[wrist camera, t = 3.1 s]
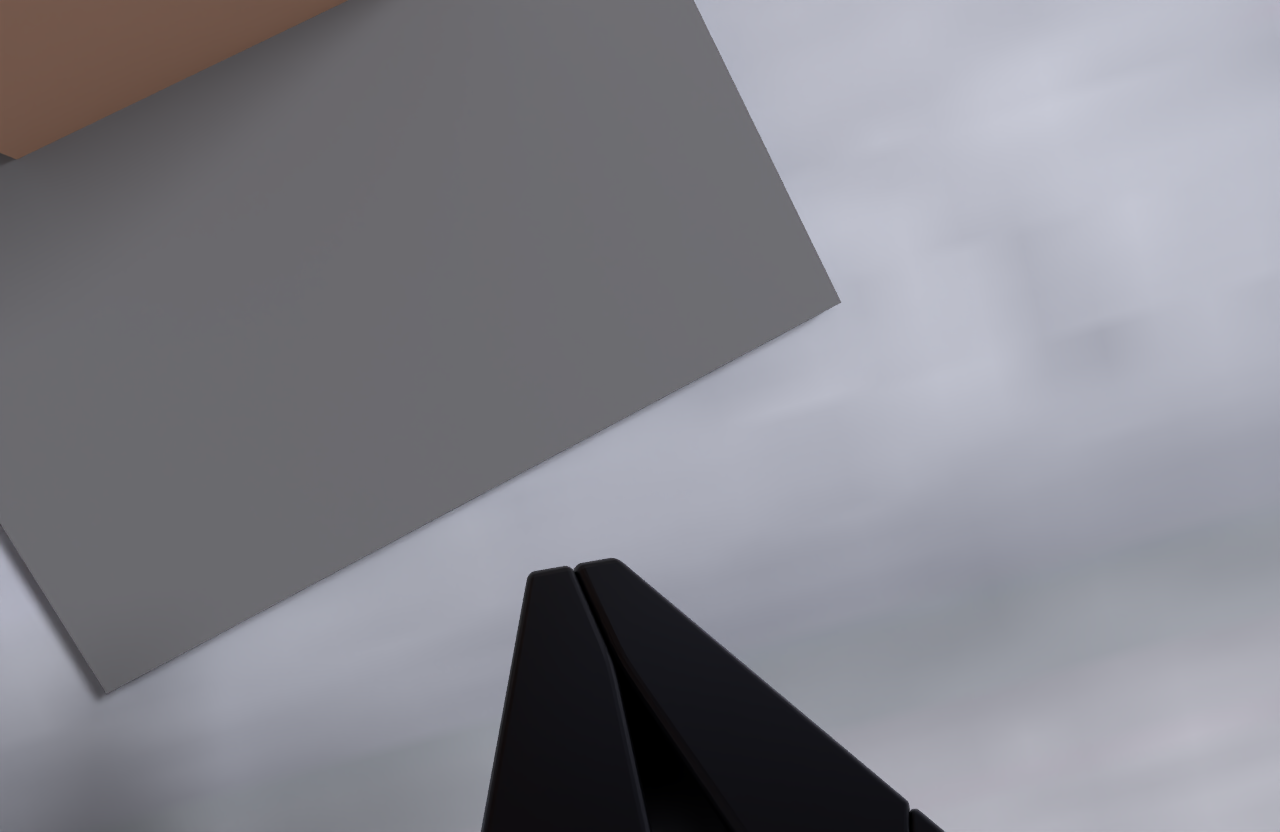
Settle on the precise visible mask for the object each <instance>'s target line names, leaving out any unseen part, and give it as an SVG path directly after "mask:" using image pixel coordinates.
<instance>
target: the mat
mask: <svg viewBox="0 0 1280 832" xmlns="http://www.w3.org/2000/svg"><path fill="white" fill-rule="evenodd" d="M839 303H841V301H840V299H839V297H838V295H837V293H836V291H835V289H834V287H833V285H832V283H831V281H830V279H829V277H828V275H827V272H826V270H825V268H824V266H823V264H822V262H821V260H820V258H819V256H818V254H817V252H816V250H815V248H814V246H813V244H812V242H811V240H810V238H809V236H808V234H807V232H806V229H805V227H804V225H803V223H802V221H801V219H800V217H799V215H798V213H797V211H796V209H795V207H794V205H793V203H792V201H791V199H790V197H789V195H788V193H787V191H786V188H785V186H784V184H783V182H782V180H781V178H780V176H779V174H778V172H777V170H776V168H775V166H774V164H773V162H772V160H771V158H770V156H769V154H768V152H767V150H766V148H765V145H764V143H763V141H762V139H761V137H760V135H759V133H758V131H757V129H756V127H755V125H754V123H753V121H752V119H751V117H750V115H749V113H748V111H747V109H746V107H745V105H744V102H743V100H742V98H741V96H740V94H739V92H738V90H737V88H736V86H735V84H734V82H733V80H732V78H731V76H730V74H729V72H728V70H727V68H726V66H725V64H724V62H723V59H722V57H721V55H720V53H719V51H718V49H717V47H716V45H715V43H714V41H713V39H712V37H711V35H710V33H709V31H708V29H707V27H706V25H705V23H704V21H703V19H702V16H701V14H700V12H699V10H698V8H697V6H696V4H695V2H694V0H348V1H346V2H343V3H341V4H339V5H337V6H335V7H333V8H331V9H329V10H327V11H325V12H323V13H321V14H319V15H316V16H314V17H312V18H310V19H308V20H306V21H304V22H302V23H300V24H298V25H296V26H294V27H291V28H289V29H287V30H285V31H283V32H281V33H279V34H277V35H275V36H273V37H271V38H269V39H267V40H264V41H262V42H260V43H258V44H256V45H254V46H252V47H250V48H248V49H246V50H244V51H242V52H239V53H237V54H235V55H233V56H231V57H229V58H227V59H225V60H223V61H221V62H219V63H217V64H215V65H212V66H210V67H208V68H206V69H204V70H202V71H200V72H198V73H196V74H194V75H192V76H190V77H187V78H185V79H183V80H181V81H179V82H177V83H175V84H173V85H171V86H169V87H167V88H165V89H163V90H160V91H158V92H156V93H154V94H152V95H150V96H148V97H146V98H144V99H142V100H140V101H138V102H136V103H133V104H131V105H129V106H127V107H125V108H123V109H121V110H119V111H117V112H115V113H113V114H111V115H108V116H106V117H104V118H102V119H100V120H98V121H96V122H94V123H92V124H90V125H88V126H86V127H84V128H81V129H79V130H77V131H75V132H73V133H71V134H69V135H67V136H65V137H63V138H61V139H59V140H56V141H54V142H52V143H50V144H48V145H46V146H44V147H42V148H40V149H38V150H36V151H34V152H32V153H29V154H27V155H25V156H23V157H21V158H19V159H14V158H12V157H9V156H7V155H4V154H1V153H0V524H1V526H2V528H3V529H4V531H5V532H6V534H7V536H8V537H9V539H10V540H11V542H12V544H13V545H14V547H15V548H16V550H17V552H18V553H19V555H20V556H21V558H22V560H23V561H24V563H25V564H26V566H27V568H28V569H29V571H30V572H31V574H32V576H33V577H34V579H35V580H36V582H37V584H38V585H39V587H40V588H41V590H42V592H43V593H44V595H45V596H46V598H47V600H48V601H49V603H50V604H51V606H52V608H53V609H54V611H55V612H56V614H57V616H58V617H59V619H60V620H61V622H62V624H63V625H64V627H65V628H66V630H67V632H68V633H69V635H70V636H71V638H72V640H73V641H74V643H75V644H76V646H77V648H78V649H79V651H80V652H81V654H82V656H83V657H84V659H85V660H86V662H87V664H88V665H89V667H90V668H91V670H92V672H93V673H94V675H95V676H96V678H97V680H98V681H99V683H100V684H101V686H102V688H103V689H104V691H105V692H106V694H108V693H110V692H112V691H114V690H115V689H117V688H119V687H121V686H123V685H125V684H127V683H129V682H130V681H132V680H134V679H136V678H138V677H140V676H142V675H144V674H145V673H147V672H149V671H151V670H153V669H155V668H157V667H159V666H160V665H162V664H164V663H166V662H168V661H170V660H172V659H174V658H175V657H177V656H179V655H181V654H183V653H185V652H187V651H189V650H190V649H192V648H194V647H196V646H198V645H200V644H202V643H204V642H205V641H207V640H209V639H211V638H213V637H215V636H217V635H219V634H220V633H222V632H224V631H226V630H228V629H230V628H232V627H234V626H235V625H237V624H239V623H241V622H243V621H245V620H247V619H249V618H250V617H252V616H254V615H256V614H258V613H260V612H262V611H264V610H265V609H267V608H269V607H271V606H273V605H275V604H277V603H279V602H280V601H282V600H284V599H286V598H288V597H290V596H292V595H294V594H295V593H297V592H299V591H301V590H303V589H305V588H307V587H309V586H310V585H312V584H314V583H316V582H318V581H320V580H322V579H323V578H325V577H327V576H329V575H331V574H333V573H335V572H337V571H338V570H340V569H342V568H344V567H346V566H348V565H350V564H352V563H353V562H355V561H357V560H359V559H361V558H363V557H365V556H367V555H368V554H370V553H372V552H374V551H376V550H378V549H380V548H382V547H383V546H385V545H387V544H389V543H391V542H393V541H395V540H397V539H398V538H400V537H402V536H404V535H406V534H408V533H410V532H412V531H413V530H415V529H417V528H419V527H421V526H423V525H425V524H427V523H428V522H430V521H432V520H434V519H436V518H438V517H440V516H442V515H443V514H445V513H447V512H449V511H451V510H453V509H455V508H457V507H458V506H460V505H462V504H464V503H466V502H468V501H470V500H472V499H473V498H475V497H477V496H479V495H481V494H483V493H485V492H487V491H488V490H490V489H492V488H494V487H496V486H498V485H500V484H502V483H503V482H505V481H507V480H509V479H511V478H513V477H515V476H517V475H518V474H520V473H522V472H524V471H526V470H528V469H530V468H532V467H533V466H535V465H537V464H539V463H541V462H543V461H545V460H547V459H548V458H550V457H552V456H554V455H556V454H558V453H560V452H562V451H563V450H565V449H567V448H569V447H571V446H573V445H575V444H577V443H578V442H580V441H582V440H584V439H586V438H588V437H590V436H592V435H593V434H595V433H597V432H599V431H601V430H603V429H605V428H607V427H608V426H610V425H612V424H614V423H616V422H618V421H620V420H622V419H623V418H625V417H627V416H629V415H631V414H633V413H635V412H637V411H638V410H640V409H642V408H644V407H646V406H648V405H650V404H652V403H653V402H655V401H657V400H659V399H661V398H663V397H665V396H667V395H668V394H670V393H672V392H674V391H676V390H678V389H680V388H682V387H683V386H685V385H687V384H689V383H691V382H693V381H695V380H697V379H698V378H700V377H702V376H704V375H706V374H708V373H710V372H712V371H713V370H715V369H717V368H719V367H721V366H723V365H725V364H727V363H728V362H730V361H732V360H734V359H736V358H738V357H740V356H742V355H743V354H745V353H747V352H749V351H751V350H753V349H755V348H757V347H758V346H760V345H762V344H764V343H766V342H768V341H770V340H772V339H773V338H775V337H777V336H779V335H781V334H783V333H785V332H787V331H788V330H790V329H792V328H794V327H796V326H798V325H800V324H802V323H803V322H805V321H807V320H809V319H811V318H813V317H815V316H817V315H818V314H820V313H822V312H824V311H826V310H828V309H830V308H832V307H833V306H835V305H837V304H839Z"/></svg>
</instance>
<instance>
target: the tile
mask: <svg viewBox="0 0 1280 832" xmlns="http://www.w3.org/2000/svg"><path fill="white" fill-rule="evenodd" d="M346 1H348V0H0V153H1V154H4V155H7V156H9V157H12V158H14V159H19V158H21V157H23V156H25V155H27V154H29V153H32V152H34V151H36V150H38V149H40V148H42V147H44V146H46V145H48V144H50V143H52V142H54V141H56V140H59V139H61V138H63V137H65V136H67V135H69V134H71V133H73V132H75V131H77V130H79V129H81V128H84V127H86V126H88V125H90V124H92V123H94V122H96V121H98V120H100V119H102V118H104V117H106V116H108V115H111V114H113V113H115V112H117V111H119V110H121V109H123V108H125V107H127V106H129V105H131V104H133V103H136V102H138V101H140V100H142V99H144V98H146V97H148V96H150V95H152V94H154V93H156V92H158V91H160V90H163V89H165V88H167V87H169V86H171V85H173V84H175V83H177V82H179V81H181V80H183V79H185V78H187V77H190V76H192V75H194V74H196V73H198V72H200V71H202V70H204V69H206V68H208V67H210V66H212V65H215V64H217V63H219V62H221V61H223V60H225V59H227V58H229V57H231V56H233V55H235V54H237V53H239V52H242V51H244V50H246V49H248V48H250V47H252V46H254V45H256V44H258V43H260V42H262V41H264V40H267V39H269V38H271V37H273V36H275V35H277V34H279V33H281V32H283V31H285V30H287V29H289V28H291V27H294V26H296V25H298V24H300V23H302V22H304V21H306V20H308V19H310V18H312V17H314V16H316V15H319V14H321V13H323V12H325V11H327V10H329V9H331V8H333V7H335V6H337V5H339V4H341V3H343V2H346Z"/></svg>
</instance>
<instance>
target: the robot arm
mask: <svg viewBox="0 0 1280 832" xmlns="http://www.w3.org/2000/svg"><path fill="white" fill-rule="evenodd" d="M481 832H944V831H943V830H942V829H941V828H940V827H938V826H937V825H936V824H935V823H934V822H933V821H931V820H930V819H929V818H928V817H927V816H925V815H924V814H923V813H922V812H921V811H919V810H918V809H912V810H911V811H910V808H909V803H908V801H907V800H906V799H904V798H903V797H902V796H901V795H900V794H898V793H897V792H896V791H895V790H894V789H893V788H891V787H890V786H889V785H888V784H887V783H885V782H884V781H883V780H882V779H881V778H879V777H878V776H877V775H876V774H875V773H873V772H872V771H871V770H870V769H869V768H867V767H866V766H865V765H864V764H863V763H861V762H860V761H859V760H858V759H857V758H856V757H854V756H853V755H852V754H851V753H850V752H848V751H847V750H846V749H845V748H844V747H842V746H841V745H840V744H839V743H838V742H836V741H835V740H834V739H833V738H832V737H830V736H829V735H828V734H827V733H826V732H824V731H823V730H822V729H821V728H820V727H819V726H817V725H816V724H815V723H814V722H813V721H811V720H810V719H809V718H808V717H807V716H805V715H804V714H803V713H802V712H801V711H799V710H798V709H797V708H796V707H795V706H793V705H792V704H791V703H790V702H789V701H787V700H786V699H785V698H784V697H783V696H781V695H780V694H779V693H778V692H777V691H776V690H774V689H773V688H772V687H771V686H770V685H768V684H767V683H766V682H765V681H764V680H762V679H761V678H760V677H759V676H758V675H756V674H755V673H754V672H753V671H752V670H750V669H749V668H748V667H747V666H746V665H744V664H743V663H742V662H741V661H740V660H739V659H737V658H736V657H735V656H734V655H733V654H731V653H730V652H729V651H728V650H727V649H725V648H724V647H723V646H722V645H721V644H719V643H718V642H717V641H716V640H715V639H713V638H712V637H711V636H710V635H709V634H707V633H706V632H705V631H704V630H703V629H702V628H700V627H699V626H698V625H697V624H696V623H694V622H693V621H692V620H691V619H690V618H688V617H687V616H686V615H685V614H684V613H682V612H681V611H680V610H679V609H678V608H676V607H675V606H674V605H673V604H672V603H670V602H669V601H668V600H667V599H666V598H665V597H663V596H662V595H661V594H660V593H659V592H657V591H656V590H655V589H654V588H653V587H651V586H650V585H649V584H648V583H647V582H645V581H644V580H643V579H642V578H641V577H639V576H638V575H637V574H636V573H635V572H633V571H632V570H631V569H630V568H629V567H627V566H626V565H625V564H624V563H623V562H621V561H620V560H618V559H615V558H608V559H602V560H596V561H591V562H585V563H580V564H578V565H577V566H576V567H575V568H574V570H573V569H572V568H570V567H568V566H562V567H556V568H551V569H545V570H539V571H534V572H532V573H530V574H529V576H528V578H527V582H526V587H525V593H524V598H523V604H522V609H521V615H520V620H519V626H518V631H517V637H516V642H515V648H514V653H513V659H512V664H511V669H510V675H509V680H508V686H507V691H506V697H505V702H504V708H503V713H502V719H501V724H500V730H499V735H498V741H497V746H496V752H495V757H494V763H493V768H492V774H491V779H490V785H489V790H488V796H487V801H486V807H485V812H484V818H483V823H482V828H481Z"/></svg>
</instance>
